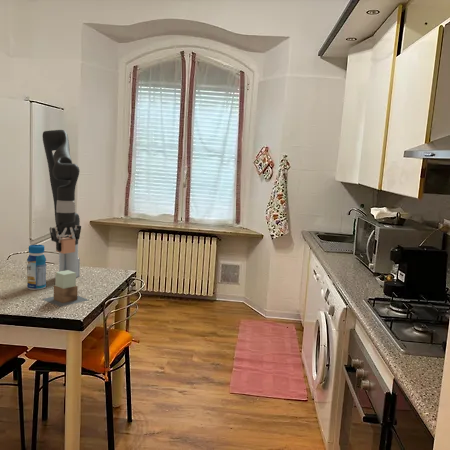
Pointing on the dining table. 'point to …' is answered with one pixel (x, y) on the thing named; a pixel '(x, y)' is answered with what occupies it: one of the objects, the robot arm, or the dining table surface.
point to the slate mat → (60, 304)
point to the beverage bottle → (36, 268)
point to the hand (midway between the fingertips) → (65, 250)
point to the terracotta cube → (67, 245)
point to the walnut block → (65, 294)
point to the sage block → (65, 279)
